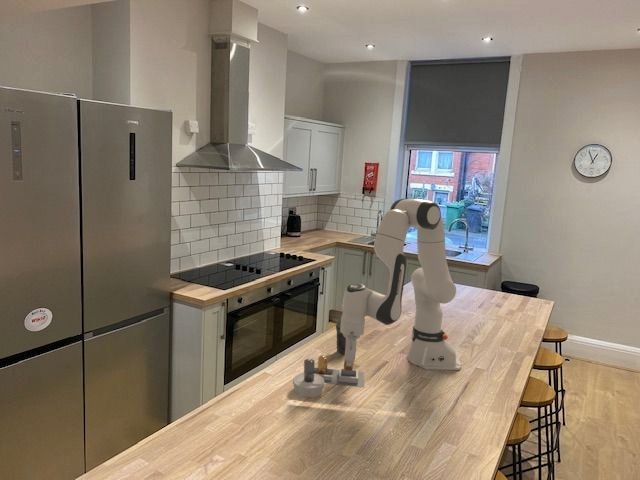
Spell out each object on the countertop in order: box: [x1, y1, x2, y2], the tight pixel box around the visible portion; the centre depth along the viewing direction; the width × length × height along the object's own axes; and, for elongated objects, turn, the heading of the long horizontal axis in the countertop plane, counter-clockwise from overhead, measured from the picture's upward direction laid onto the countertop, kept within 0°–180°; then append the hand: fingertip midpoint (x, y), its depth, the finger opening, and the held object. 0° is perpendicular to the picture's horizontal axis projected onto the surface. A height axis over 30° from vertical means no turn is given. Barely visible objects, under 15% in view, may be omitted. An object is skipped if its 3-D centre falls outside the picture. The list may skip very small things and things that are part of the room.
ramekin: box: [292, 372, 325, 398], centre depth 166 cm, size 11×11×5 cm
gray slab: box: [314, 365, 365, 388], centre depth 178 cm, size 22×12×3 cm, turn 86°
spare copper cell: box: [317, 355, 329, 375], centre depth 178 cm, size 4×4×8 cm
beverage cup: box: [335, 317, 346, 355], centre depth 202 cm, size 7×7×20 cm
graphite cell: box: [303, 358, 316, 382], centre depth 165 cm, size 4×4×8 cm
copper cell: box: [343, 357, 355, 371], centre depth 176 cm, size 4×4×8 cm
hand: (348, 362), depth 177 cm, fingers closed on copper cell, 4 cm apart
